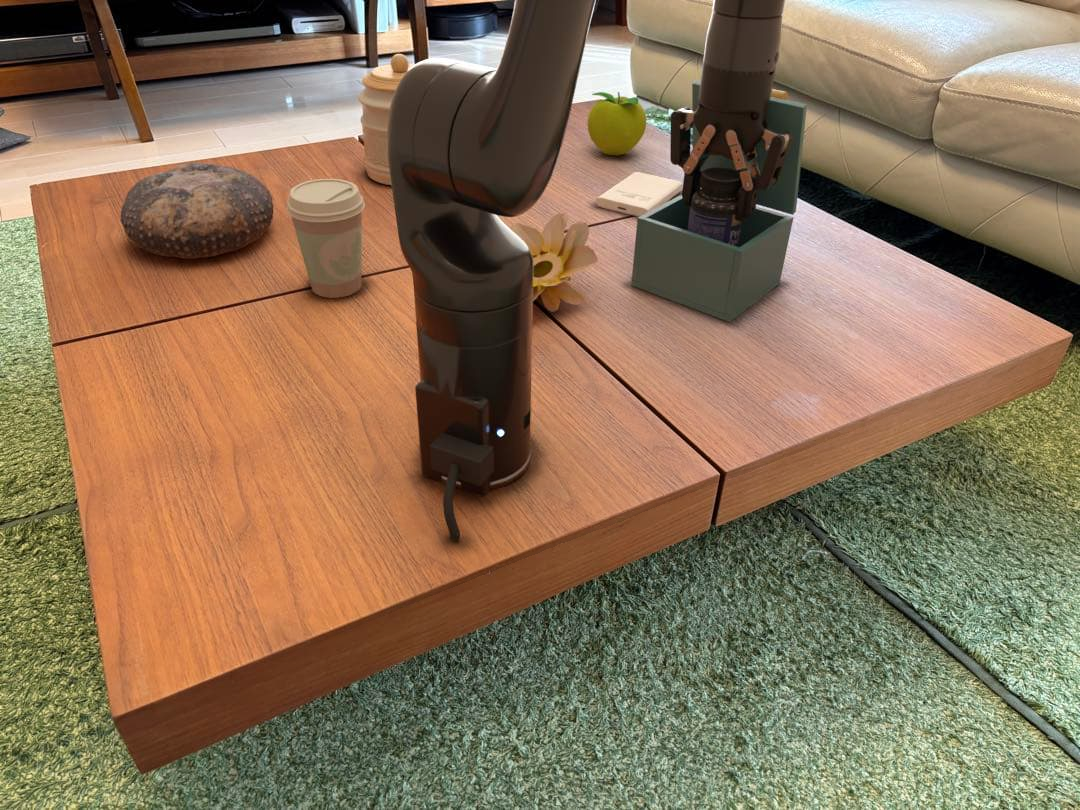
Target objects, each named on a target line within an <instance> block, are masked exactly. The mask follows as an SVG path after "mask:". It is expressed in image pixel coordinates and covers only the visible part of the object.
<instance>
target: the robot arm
mask: <svg viewBox="0 0 1080 810" xmlns="http://www.w3.org/2000/svg"><path fill="white" fill-rule="evenodd" d="M596 1H597V0H514V5H513V11H512V16H511V21H510V25H509V30H508V34H507V38H506V42H505V46H504V49H503V53H502V55H501V58H500V61H499V63H498V65H497V68H494V67H491V66H489V67H488V66H485V65H481V64H475V63H471V62H466V61H461V60H456V59H450V58H443V57H442V58H441V57H432V58H426V59H424V60H422V61H419V62H417V63H415V64H413V65H414V66H413V67H411V68H410V69H409V70H408V71H407V72H406V74H405V75H404V76H403V77H402V79H401V80H400V82H399V84H398V86H397V88H396V90H395V93H394V96H393V98H392V102H391V106H390V111H389V117H388V126H387V149H388V162H389V171H390V179H391V185H390V186H391V190H392V191H391V192H392V198H393V199H392V200H393V206H394V213H395V220H396V226H397V227H396V228H397V235H398V241H399V246H400V250H401V252H402V256H403V258H404V260H405V262H406V263H407V265H408V267H409V269H410V271H411V274H412V283H413V285H412V286H413V297H414V298H413V299H414V310H415V311H414V313H415V325H416V326H415V327H416V338H417V341H416V342H417V353H418V366H419V380H420V381H419V382H418V383H417V384H416V385H415V388H414V389H415V402H416V403H415V404H416V414H417V427H418V428H417V429H418V440H419V452H420V465H421V475H422V476H423V477H426V478H429V479H432V480H435V481H438V482H440V483H442V484H444V485H445V486H444V490H443V497H442V498H443V499H442V509H443V511H442V512H443V516H444V520H445V524H446V528H447V530H448V533H449V539H450V540H451V541H452V542H458V541H460V538H461V533H460V528H459V525H458V523H457V519H456V516H455V515H456V514H455V509H454V499H455V498H454V496H455V490H456V488H457V489H459V490H462V491H465V492H467V493H470V494H473V495H476V496H478V497H485V496H486V494H487V493H488V492H489V491H491V490H493V489H497V488H500V487H504V486H506V485H508V484H510V483H512V482H515V481H516V480H517V479H519V478H520V477H521V476H522V475H523V474H524V473H526V471H527V469H528V468H529V466H530V463H531V461H532V445H531V430H532V370H533V369H532V367H533V366H532V364H533V363H532V361H533V318H534V317H533V316H534V312H533V311H534V301H533V271H534V268H533V257H532V253H531V251H530V249H529V247H528V245H527V244H526V243H525V242H524V240H523V239H522V238H521V237H519V236H518V235H517V234H516V233H515V232H514V231H513V230H511V229H510V226H508V225H507V224H506V223H505V222H504V221H503V220H502V219H501V217H504V218H515V217H519V216H521V215H524V214H525V213H527V212H528V211H529V210H530V209H532V208H534V206H535V205H536V204H537V202H538V201H539V200H540V199H541V198H542V196H543V194H544V193H545V191H546V189H547V187H548V185H549V183H550V181H551V180H552V177H553V175H554V172H555V170H556V167H557V164H558V160H559V158H560V155H561V150H562V147H563V143H564V141H565V137H566V133H567V128H568V124H569V120H570V119H569V118H570V116H571V111H572V106H573V102H574V96H575V93H576V88H577V83H578V78H579V75H580V70H581V65H582V60H583V56H584V53H585V52H584V51H585V47H586V43H587V38H588V34H589V30H590V25H591V21H592V18H593V13H594V10H595V5H596ZM785 3H786V0H713V3H712V11H711V16H710V20H709V24H708V28H707V31H706V38H705V44H704V45H705V46H704V53H703V61H702V68H701V74H700V75H701V76H700V81H699V82H700V90H699V106H698V108H697V110H696V111H692V110H691V108H689V107H688V106H685V107H682V108H680V109H677V110H675V111H672V112H671V114H670V146H669V147H670V151H669V154H670V155H669V156H670V157H669V159H670V163H671V164H672V165H674V166H678V167H680V168H682V171H683V172H684V173H683V181H682V183H683V186H682V191H681V195H682V197H683V199H685V202H684V203H685V204H686V205H689V206H691V200H692V196H693V195H694V193H695V192H696V191H697V190H699V189H701V183H700V179H701V173H702V171H700V168H702V166H703V165H704V163H705V162H706V160H707V159H708V157H709V156H710V155H711V154H712V155H722V156H724V157H725V158H727V159H731V160H734V164H735V168H736V170H737V171H738V172H739V174H740V178H741V181H742V185H743V189H741V190H740V195H739V201H738V207H737V213H736V220H737V221H741V222H743V221H744V220H746V219H748V218H749V217H750V216H751V215H753V213H754V212H755V209H756V206H757V204H756V202H757V198H758V192H759V189H762V190H766V189H767V188H769V187H770V186H772V185H774V184H776V183H777V182H778V180H779V177H780V174H781V171H782V168H783V165H784V162H785V159H786V156H787V152H788V149H789V146H790V143H791V140H792V134H791V133H790V132H789V131H785V132H783V133H781V132H778V131H776V130H773V129H771V128H768V123H767V118H766V115H767V111H768V107H769V103H770V97H771V92H772V89H773V87H774V86H773V85H774V79H775V75H776V73H775V72H776V69H777V63H778V61H779V57H780V47H781V40H782V24H783V22H782V21H783V14H784V9H785ZM694 123H695V126H696V128H697V130H698V133H699V135H700V139H699V140H698V142H697V143H696V145H695V146H694V148H693V147H692V149H691V144H692V143H691V142H692V141H691V140H692V139H691V138H692V137H691V136H692V135H691V134H692V127H693V125H694ZM762 139H764V140H765V143H766V145H765V149H766V150H767V151H768V154H767V157H766V160H765V163H764V167H763V170H762V173H761V170H760V166H759V163H760V156H759V152H758V148H757V144H758V143H759V142H760V141H761V140H762ZM745 155H747V158H746V157H745Z"/></svg>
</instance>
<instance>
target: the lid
mask: <svg viewBox="0 0 1080 810" xmlns="http://www.w3.org/2000/svg"><path fill="white" fill-rule="evenodd" d="M700 82H701V81H700V80H694V82H692V84H691V87H692V88H691V94H692V95H691V101H692V102H691V104H692V105H691V107H692V110H691V111H696V110H697V108H698V106H699V90H700ZM788 99H789V94H788V92H787V91H784V90H779V89H774V88H772V92H771V97H770V103H769V107H768V111H767V115H766V118H767V123H768V128H771V129H773V130H776V131H778V132H781V133H783V132H785V131H789V132H790V133H791V134H792V140H791V143H790V146H789V149H788V152H787V156H786V159H785V162H784V165H783V168H782V171H781V174H780V177H779V180H778V182H777V183H776V184H774V185H772V186H770V187H769V188H767V189H766V190H762V189H759V192H758V198H757V202H756V206H761V207H763V208H767V209H772V210H773V211H774V210H775V211H778V212H782V213H786V214H788V215H792V216H794V214H795V213H796V212H797V206H798V205H797V204H798V197H799V186H800V185H799V184H800V176H801V165H802V157H803V156H802V155H803V145H804V137H805V127H806V117H807V107H808V105H807V104H805V103H801V102H796V101H792V100H788ZM691 134H692V135H691V136H692V137H691V138H692V139H691V140H692V141H691V142H692V143H691V144H692V149H693V148H694V146H695V145H696V143H697V142H698V140H699V139H700V135H699V133H698V130H697V128H696V126H695V123H694V125H693V127H692V128H691ZM765 145H766V143H765V140H764V139H762V140H761V141H760V142H759V143H758V144H757V148H758V152H759V156H760V163H759V166H760V170H761V173H762V170H763V167H764V163H765V160H766V157H767V154H768V151H767V150H766V149H765ZM745 157H746V158H747V155H745ZM715 167H721V168H729V169H733V170H736V168H735V164H734V160H731V159H727V158H725V157H724V156H722V155H712V154H711V155H710V156H709V157H708V159H707V160H706V162H705V163H704V165H703V166H702V168H700V171H703V170H705V169H708V168H715ZM736 171H737V170H736ZM701 188H702V186H701ZM741 189H743V185H742V186H741V188H740V189H739V191H738V193H740V190H741Z"/></svg>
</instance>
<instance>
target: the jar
mask: <svg viewBox="0 0 1080 810" xmlns="http://www.w3.org/2000/svg"><path fill="white" fill-rule="evenodd" d="M414 65H415V64H411V63H410V62H409V59H408V58H407V56H406V55H405V54H403V53H396V54H394V55H392V57H391V59H390V64H384V65H380V66H379V65H378V66H377V67H374V68H373V69H371V71H370V72H368V73H367V74H366V75H365V76H364V75H363V77H362V79H361V83H362V85H364V86H365V87H364V89H363V90H361V91H360V92H359V93H358V95H357V100H358V102H359V103H360V104H361V105H362V114H361V116H360V118H359V119H360V123H361V129H362V138H363V139H362V140H363V147H364V149H363V150H364V167H365V169H366V172H367V176H368V178H370V179H371V180H373V181H375V182H377V183H380V184H382V185H388V186H391V179H390V171H389V162H388V149H387V126H388V117H389V111H390V106H391V102H392V98H393V96H394V93H395V90H396V88H397V86H398V84H399V82H400V80H401V79H402V77H403V76H404V75H405V74H406V72H407V71H408V70H409V69H410V68H411V67H413V66H414Z"/></svg>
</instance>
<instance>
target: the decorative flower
mask: <svg viewBox="0 0 1080 810" xmlns="http://www.w3.org/2000/svg"><path fill="white" fill-rule="evenodd" d="M568 220H569V216H568V214H566V213H564V212H563V213H557V214H555V215H554V216H552V218H550V219H549V220H548V221H547V222H546V224H545V225H544V227H543V229H542V231H541V232H540V231H539V230H538V229H537V228H535V227H532V226H529V225H526V224H522V223H519V222H515V223H513V224H512V225H511V226H509V228H510V229H511V230H513V231H514V232H515V233H516V234H517V235H518V236H519V237H521V238H522V239H523V240H524V242H525V243H526V244H527V245H528V247H529V249H530V251H531V253H532V257H533V268H534V271H533V302H534V301H535V300H536V299H537V298H538V297H539V296H540V297H541V301H542V304H543V307H544V308H545V309H546V310H548V311H549V312H551V313H554V312H556V311H558V310H559V306H560V303H561V300H562V301H564V302H565V303H568V304H571V305H580V304H582V303H584V302H586V301H587V298H586V297H585V296H584V295H583V294H582V293H581V292H580V291H579V290H578V289H576V288H575V287H573V286H572V285H571V284H569V283H568V282H567V281H569V282H571V281H572V278H571V276H572V275H575V274H577V273H579V272H581V271H584V270H586V269H588V268H590V267H591V266H594V265H596V264H597V263H598V261H599V260H598V258H599V257H598V256H597V254H596V252H595V250H594V249H593V248H591V247H590V246H588V245H586V244H587V241H588V238H589V235H590V227H589V224H588V222H586V221H584V220H578V221H576V222H574V223H573V224H571V225H570V226H569V228H568V229H567V231H566V232H565V229H566V227H567V224H568Z"/></svg>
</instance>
